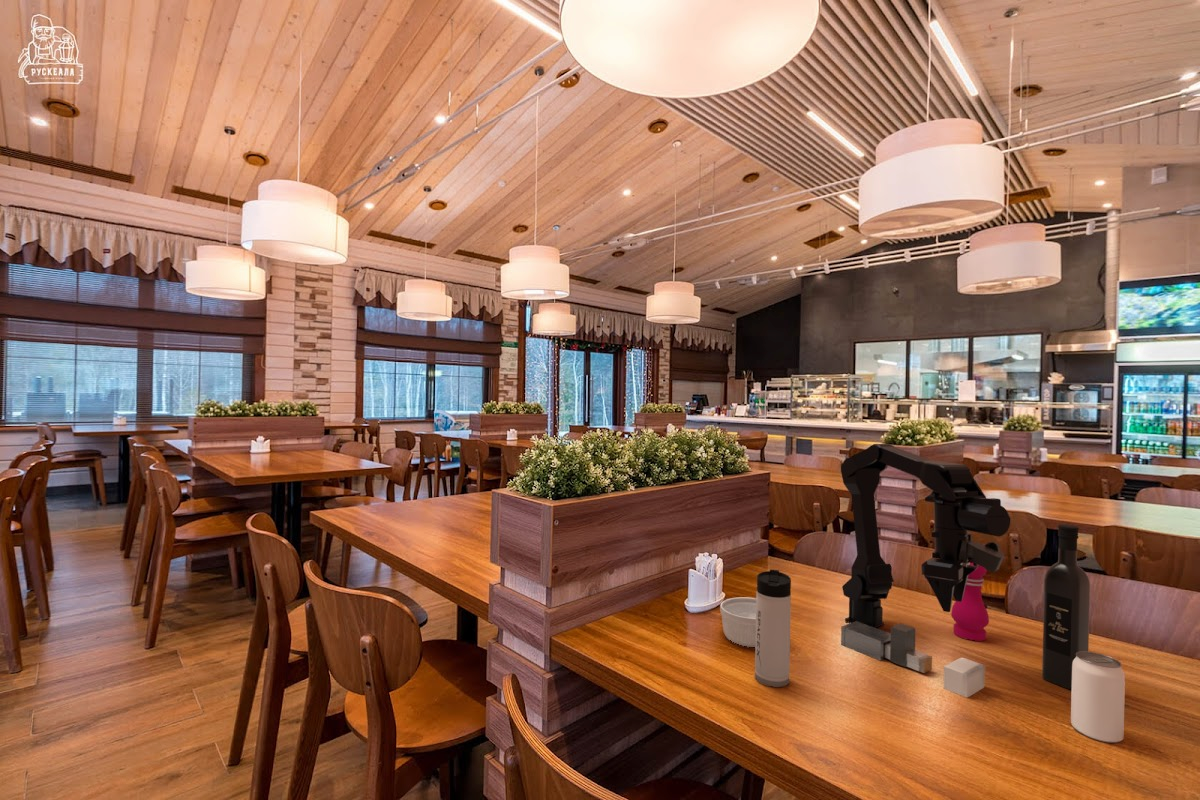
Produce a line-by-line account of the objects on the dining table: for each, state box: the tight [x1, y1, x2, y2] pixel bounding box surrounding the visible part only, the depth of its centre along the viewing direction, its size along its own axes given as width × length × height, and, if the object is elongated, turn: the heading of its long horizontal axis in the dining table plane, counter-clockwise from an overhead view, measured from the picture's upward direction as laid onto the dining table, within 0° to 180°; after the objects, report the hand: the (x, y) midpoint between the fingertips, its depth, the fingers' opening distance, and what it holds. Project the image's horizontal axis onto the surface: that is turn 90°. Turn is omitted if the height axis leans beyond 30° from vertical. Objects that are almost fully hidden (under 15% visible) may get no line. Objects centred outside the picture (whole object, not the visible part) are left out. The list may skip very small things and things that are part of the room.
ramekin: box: [719, 596, 756, 648], centre depth 127 cm, size 13×13×7 cm
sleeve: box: [840, 621, 891, 662], centre depth 122 cm, size 9×6×4 cm, turn 34°
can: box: [1070, 650, 1126, 744], centre depth 93 cm, size 6×6×12 cm
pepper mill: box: [950, 563, 990, 642], centre depth 130 cm, size 7×7×20 cm
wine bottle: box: [1041, 524, 1091, 691], centre depth 109 cm, size 6×6×30 cm
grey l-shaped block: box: [883, 622, 933, 674], centre depth 118 cm, size 16×4×7 cm, turn 34°
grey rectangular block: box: [943, 656, 986, 699], centre depth 106 cm, size 4×7×4 cm, turn 124°
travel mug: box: [754, 569, 792, 688], centre depth 108 cm, size 6×7×20 cm
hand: (952, 606), depth 113 cm, fingers open, 9 cm apart
